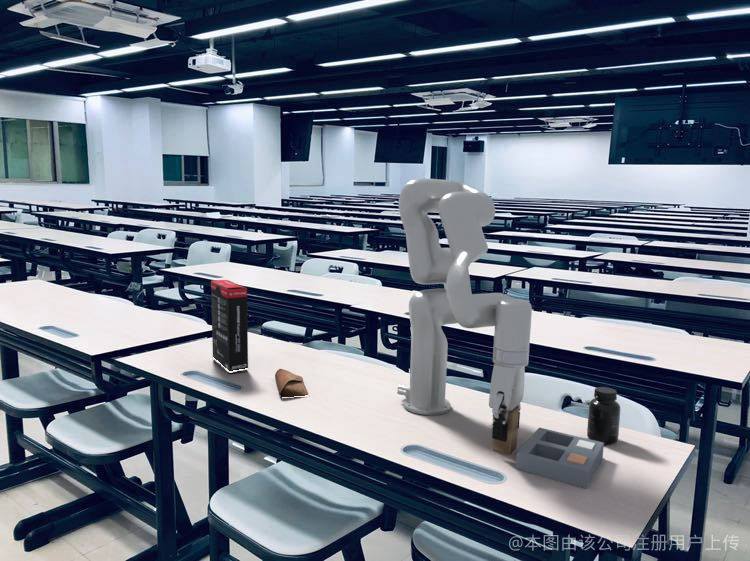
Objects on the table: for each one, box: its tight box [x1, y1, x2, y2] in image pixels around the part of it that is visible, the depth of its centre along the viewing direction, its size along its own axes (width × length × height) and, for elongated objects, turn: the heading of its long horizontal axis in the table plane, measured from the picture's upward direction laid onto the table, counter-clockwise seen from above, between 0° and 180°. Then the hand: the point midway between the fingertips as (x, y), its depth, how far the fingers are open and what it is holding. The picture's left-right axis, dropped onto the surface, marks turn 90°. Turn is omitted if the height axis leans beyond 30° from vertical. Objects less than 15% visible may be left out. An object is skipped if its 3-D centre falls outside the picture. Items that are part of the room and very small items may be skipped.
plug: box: [492, 405, 520, 456], centre depth 122 cm, size 4×4×10 cm
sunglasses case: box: [274, 368, 309, 398], centre depth 159 cm, size 18×7×7 cm, turn 15°
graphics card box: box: [210, 279, 249, 371], centre depth 176 cm, size 17×7×27 cm, turn 34°
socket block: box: [515, 427, 605, 489], centre depth 117 cm, size 14×16×4 cm
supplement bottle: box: [586, 386, 621, 446], centre depth 129 cm, size 7×7×12 cm
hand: (505, 433), depth 122 cm, fingers open, 7 cm apart
